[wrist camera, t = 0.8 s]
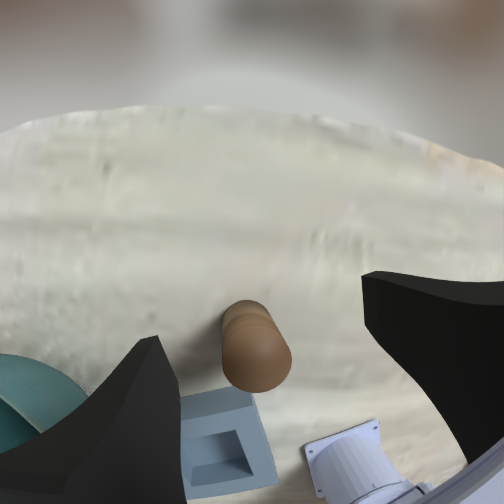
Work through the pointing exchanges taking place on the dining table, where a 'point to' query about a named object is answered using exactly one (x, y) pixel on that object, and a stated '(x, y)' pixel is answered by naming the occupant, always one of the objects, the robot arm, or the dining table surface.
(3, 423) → the teal bowl
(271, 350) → the peg
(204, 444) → the socket
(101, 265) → the dining table surface
